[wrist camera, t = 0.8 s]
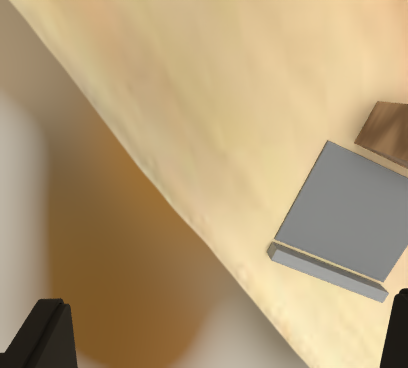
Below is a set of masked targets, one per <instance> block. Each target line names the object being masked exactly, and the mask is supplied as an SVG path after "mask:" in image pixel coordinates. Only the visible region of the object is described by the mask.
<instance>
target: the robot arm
mask: <svg viewBox="0 0 408 368" xmlns="http://www.w3.org/2000/svg"><path fill="white" fill-rule="evenodd" d="M0 368H78V367H77V359H76V351H75V342H74V333H73V325H72V317H71V308H70V305H69V304H64V302H63V300H62V299H61V298H60V299H40V300H38V302H37V303H36V304H35V306H34V308H33V309H32V311H31V313H30V314H29V315H28V317H27V319H26V320H25V322H24V323H23V325H22V327H21V328H20V329H19V331H18V333H17V334H16V336H15V337H14V339H13V341H12V342H11V344H10V345H9V347H8V348H7V350H6V351H5V353H0ZM380 368H408V288H404V289H401V290H400V292H399V294H396V295H395V297H394V301H393V306H392V311H391V315H390V320H389V325H388V329H387V334H386V339H385V344H384V348H383V353H382V358H381V363H380Z"/></svg>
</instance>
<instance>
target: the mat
mask: <svg viewBox="0 0 408 368" xmlns="http://www.w3.org/2000/svg"><path fill="white" fill-rule="evenodd" d="M274 239H275V240H278V241H280V242H283V243H285V244H288V245H290V246H293V247H295V248H298V249H301V250H303V251H306V252H308V253H311V254H313V255H316V256H318V257H321V258H323V259H326V260H328V261H331V262H333V263H336V264H338V265H341V266H343V267H346V268H348V269H351V270H353V271H356V272H358V273H361V274H364V275H366V276H369V277H371V278H374V279H376V280H379V281H381V282H384V280H385V279H386V277H387V276H388V274H389V273H390V271H391V270H392V268H393V267H394V265H395V264H396V262H397V261H398V259H399V258H400V256H401V255H402V253H403V252H404V250H405V248H406V247H407V245H408V178H406V177H404V176H402V175H400V174H398V173H396V172H394V171H391V170H389V169H387V168H385V167H383V166H381V165H379V164H377V163H375V162H372V161H370V160H368V159H366V158H364V157H362V156H360V155H358V154H355V153H353V152H351V151H349V150H347V149H345V148H343V147H341V146H339V145H336V144H334V143H332V142H330V141H328V140H327V142H326V144H325V146H324V148H323V150H322V152H321V153H320V155H319V157H318V159H317V161H316V163H315V164H314V166H313V168H312V170H311V172H310V174H309V175H308V177H307V179H306V181H305V183H304V185H303V186H302V188H301V190H300V192H299V194H298V196H297V197H296V199H295V201H294V203H293V205H292V207H291V209H290V210H289V212H288V214H287V216H286V218H285V220H284V221H283V223H282V225H281V227H280V229H279V231H278V232H277V234H276V236H275V238H274ZM267 253H268V255H269V257H270V259H271V260H272V261H274V262H277V263H280V264H282V265H285V266H287V267H290V268H293V269H295V270H298V271H300V272H303V273H306V274H308V275H311V276H313V277H316V278H319V279H321V280H324V281H327V282H329V283H332V284H334V285H337V286H340V287H342V288H345V289H347V290H350V291H353V292H355V293H358V294H360V295H363V296H366V297H368V298H371V299H374V300H376V301H379V302H381V303H383V302H384V300H385V299H386V297H387V296H388V294H389V293H388V292H387V291H386V290H385V289H384V288H383V287H382V286H381V285H380V284H378V283H376V282H373V281H371V280H368V279H366V278H363V277H360V276H358V275H355V274H353V273H350V272H348V271H345V270H343V269H340V268H338V267H335V266H333V265H330V264H328V263H325V262H322V261H320V260H317V259H315V258H312V257H310V256H307V255H305V254H302V253H300V252H297V251H295V250H292V249H290V248H287V247H284V246H282V245H279V244H277V243H274V242H272V243H271V245H270V247H269V249H268V251H267Z"/></svg>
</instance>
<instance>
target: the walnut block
mask: <svg viewBox="0 0 408 368" xmlns="http://www.w3.org/2000/svg"><path fill="white" fill-rule="evenodd" d="M354 143H355V144H358V145H360V146H362V147H364V148H366V149H368V150H370V151H372V152H374V153H376V154H378V155H381V156H383V157H385V158H387V159H389V160H391V161H393V162H395V163H397V164H399V165H401V166H404V167H406V168H408V104H400V103H389V102H379V101H377V103H376V105H375V107H374V108H373V110H372V112H371V114H370V116H369V117H368V119H367V121H366V123H365V124H364V126H363V128H362V130H361V131H360V133H359V135H358V137H357V139H356V140H355V142H354Z"/></svg>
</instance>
